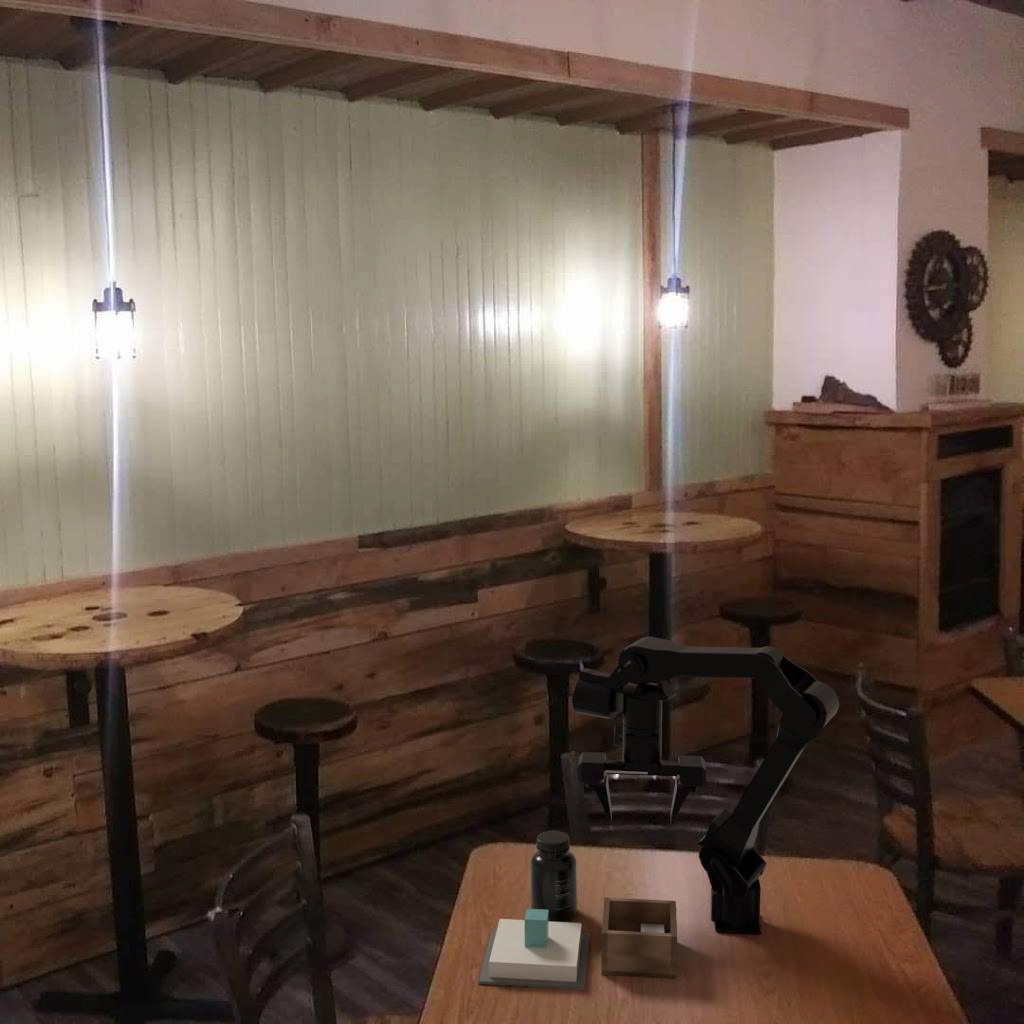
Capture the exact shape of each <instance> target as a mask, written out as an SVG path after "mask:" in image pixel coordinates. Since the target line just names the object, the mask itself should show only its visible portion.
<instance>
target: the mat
mask: <svg viewBox="0 0 1024 1024" xmlns="http://www.w3.org/2000/svg"><path fill="white" fill-rule="evenodd" d="M496 932H497V928H491V931H490V935H489V939H488V943H487V948H486V951H485V956H484V959H483V963H482V967H481V970H480V975H479V979H478V985H493V986H506V985H512V986H511V987H514V986H513V985H517V986H516V987H523V986H528V987H527V988H540V989H541V988H544V989H546V988H547V989H561V990H578V991H581V990H582V991H585V990H586V982H587V981H586V980H587V970H588V962H589V961H588V958H589V951H590V950H589V949H590V939H591V937H590V936H591V934H590V933H587V932H586V933H584V932H581V946H580V955H579V963H578V972H577V981H576V982H568V981H550V980H533V979H516V978H498V977H489V960H490V956H491V952H492V948H493V944H494V940H495V936H496Z"/></svg>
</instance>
